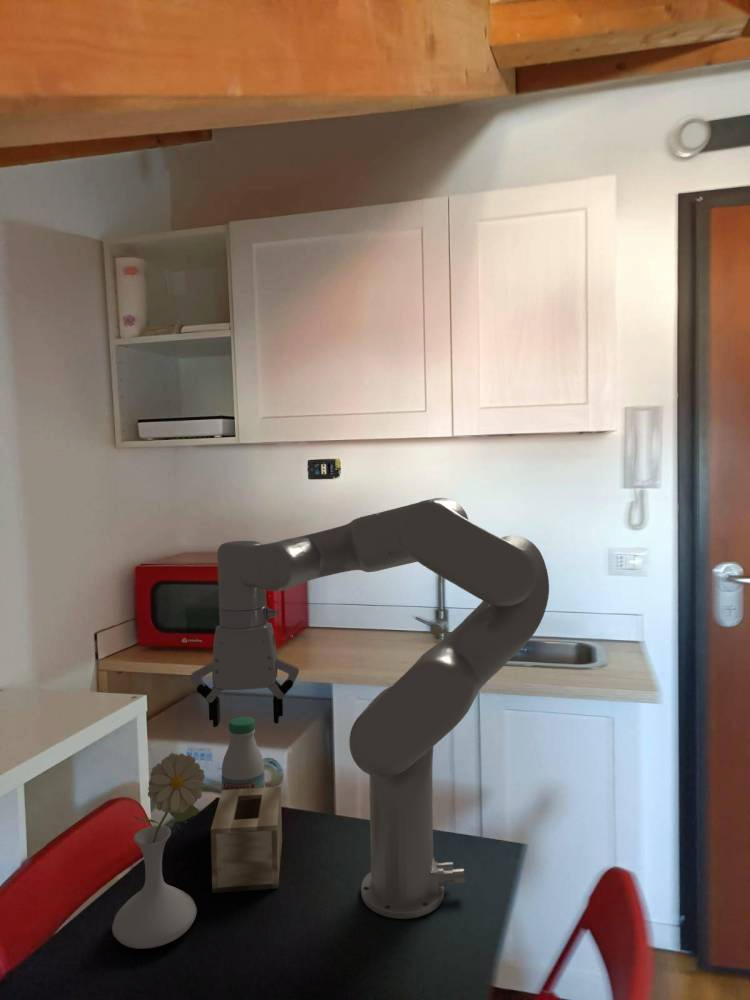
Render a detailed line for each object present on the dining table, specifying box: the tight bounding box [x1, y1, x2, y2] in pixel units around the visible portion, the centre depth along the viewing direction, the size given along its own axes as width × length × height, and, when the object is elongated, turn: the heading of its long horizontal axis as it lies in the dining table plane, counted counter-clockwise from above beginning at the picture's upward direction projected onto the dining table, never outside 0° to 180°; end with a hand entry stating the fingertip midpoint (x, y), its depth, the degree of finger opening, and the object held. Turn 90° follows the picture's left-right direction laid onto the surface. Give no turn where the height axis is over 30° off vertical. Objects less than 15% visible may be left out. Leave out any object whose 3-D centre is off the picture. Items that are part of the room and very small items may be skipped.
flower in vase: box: [111, 752, 206, 950], centre depth 96 cm, size 13×11×25 cm
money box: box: [210, 786, 283, 894], centre depth 111 cm, size 10×13×10 cm
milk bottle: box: [221, 716, 266, 791], centre depth 123 cm, size 8×8×20 cm
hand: (246, 722), depth 111 cm, fingers open, 9 cm apart
